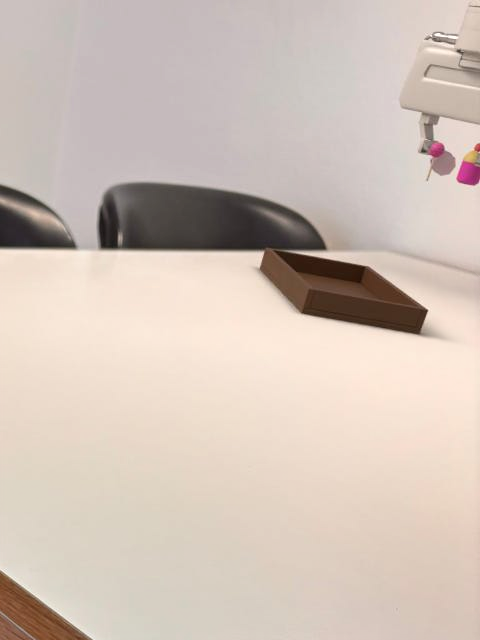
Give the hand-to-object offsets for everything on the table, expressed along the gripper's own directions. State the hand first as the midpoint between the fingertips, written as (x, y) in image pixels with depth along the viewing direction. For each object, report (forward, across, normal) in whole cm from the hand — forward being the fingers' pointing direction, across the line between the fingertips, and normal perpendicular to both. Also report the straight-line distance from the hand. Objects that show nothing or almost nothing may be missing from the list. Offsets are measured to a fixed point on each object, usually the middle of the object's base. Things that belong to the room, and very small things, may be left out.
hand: (453, 161), depth 138 cm
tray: (+15, +9, -28) cm, 33 cm away
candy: (+2, 0, 0) cm, 2 cm away
